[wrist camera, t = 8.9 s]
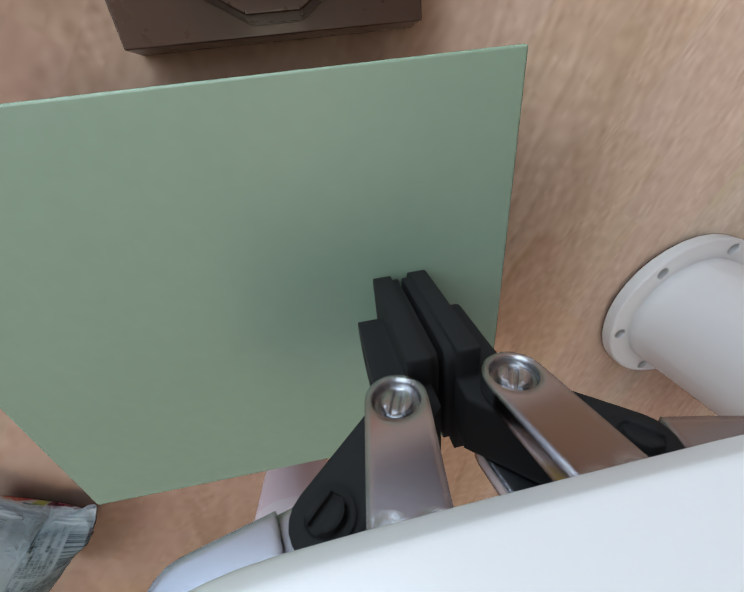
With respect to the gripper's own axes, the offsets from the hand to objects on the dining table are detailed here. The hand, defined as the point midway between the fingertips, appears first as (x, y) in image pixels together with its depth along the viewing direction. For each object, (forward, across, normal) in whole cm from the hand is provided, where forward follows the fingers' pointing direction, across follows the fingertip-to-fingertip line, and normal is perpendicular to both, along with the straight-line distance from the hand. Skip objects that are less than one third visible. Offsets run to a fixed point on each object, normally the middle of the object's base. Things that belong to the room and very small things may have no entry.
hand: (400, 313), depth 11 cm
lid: (+1, +5, 0) cm, 5 cm away
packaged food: (+10, +30, +20) cm, 38 cm away
